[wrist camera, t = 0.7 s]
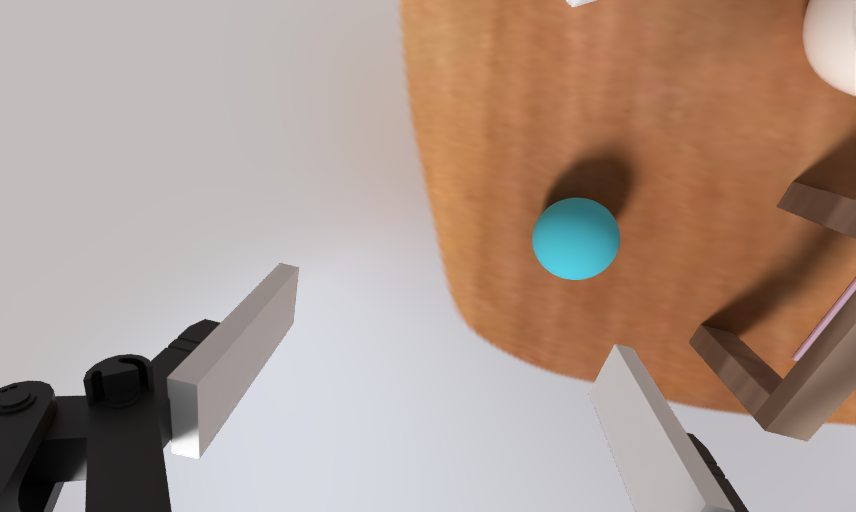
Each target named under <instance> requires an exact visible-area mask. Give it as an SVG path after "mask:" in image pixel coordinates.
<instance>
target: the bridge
mask: <svg viewBox="0 0 856 512" xmlns="http://www.w3.org/2000/svg"><path fill="white" fill-rule="evenodd" d="M777 207H778V208H781V209H783V210H786V211H788V212H791V213H793V214H796V215H798V216H800V217H803V218H805V219H808V220H810V221H813V222H815V223H818V224H820V225H823V226H825V227H828V228H830V229H833V230H835V231H838V232H840V233H843V234H845V235H847V236H850V237H852V238H855V239H856V199H853V198H850V197H847V196H843V195H840V194H837V193H834V192H830V191H826V190H823V189H819V188H815V187H811V186H808V185H804V184H800V183H797V182H793V183H792V184H791V186H790V187H789V189H788V190H787V192H786V193H785V195H784V197H783V198H782V200H781V201H780V203H779V204H778V206H777ZM689 343H690V344H691V346H692V347H693V348H694V349H695V350H696V351H697V353H698V354H699V355H700V356H701V357H702V358H703V359H704V361H705V362H706V363H707V364H708V365H709V366H710V368H711V369H712V370H713V371H714V372H715V373H716V375H717V376H718V377H719V378H720V379H721V380H722V382H723V383H724V384H725V385H726V386H727V387H728V388H729V390H730V391H731V392H732V393H733V394H734V395H735V397H736V398H737V399H738V400H739V401H740V402H741V404H742V405H743V406H744V407H745V408H746V409H747V411H748V412H749V413H750V414H751V415H752V416H753V417H754V419H755V420H756V421H757V422H758V423H759V424H760V425H761V427H762V428H763V429H764V430H765V431H768V432H772V433H776V434H780V435H784V436H788V437H793V438H796V439H800V440H804V441H808V440H809V439H810V438H811V437H812V436H813V435H814V433H815V432H816V431H817V430H818V429H819V428H820V427H821V426H822V425H823V424H824V423H825V422H826V421H827V420H828V418H829V417H830V416H831V415H832V414H833V413H834V412H835V411H836V410H837V409H838V408H839V407H840V405H841V404H842V403H843V402H844V401H845V400H846V399H847V398H848V397H849V396H850V395H851V393H852V392H853V391H854V390H855V389H856V290H855V291H854V293H853V294H852V295H851V296H850V297H849V299H848V300H847V301H846V302H845V304H844V305H843V306H842V307H841V309H840V310H839V311H838V312H837V314H836V315H835V316H834V317H833V318H832V320H831V321H830V322H829V323H828V325H827V326H826V327H825V328H824V330H823V331H822V332H821V333H820V335H819V336H818V337H817V338H816V339H815V341H814V342H813V343H812V344H811V346H810V347H809V348H808V349H807V351H806V352H805V353H804V354H803V356H802V357H801V358H800V359H799V360H798V362H797V363H796V364H795V365H794V367H793V368H792V369H791V370H790V372H789V373H788V374H787V375H786V377H785V378H784V379H782V378H781V377H780V376H779V375H778V374H777V373H776V372H775V371H774V370H773V369H771V368H770V367H769V366H768V365H767V364H766V363H765V362H764V361H763V360H762V359H761V358H760V357H759V356H758V355H756V354H755V353H754V352H753V351H752V350H751V349H750V348H749V347H748V346H747V345H746V344H745V343H744V342H743V341H741V340H740V339H739V338H738V337H737V336H736V335H735V334H734V333H731V332H728V331H724V330H720V329H716V328H712V327H708V326H704V325H700V327H699V328H698V330H697V331H696V333H695V334H694V336H693V337H692V339H691V341H690V342H689Z"/></svg>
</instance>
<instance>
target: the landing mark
mask: <svg viewBox="0 0 856 512" xmlns="http://www.w3.org/2000/svg"><path fill="white" fill-rule="evenodd" d="M855 290H856V278H855V279H854V281H853V282H852V283H851V284H850V286H849V287H848V288H847V289H846V291H845V292H844V293H843V294H842V296H841V297H840V298H839V299H838V301H837V302H836V303H835V304H834V306H833V307H832V308H831V309H830V311H829V312H828V313H827V314H826V316H825V317H824V318H823V319H822V321H821V322H820V323H819V324H818V326H817V327H816V328H815V329H814V331H813V332H812V333H811V335H810V336H809V337H808V338H807V340H806V341H805V342H804V343H803V345H802V346H801V347H800V348H799V350H798V351H797V352H796V353H795V355H794V356H793V357H792V358H791V359H793V360H795V361H798V360H799V359H800V358H801V357H802V356H803V354H804V353H805V352H806V351H807V349H808V348H809V347H810V346H811V344H812V343H813V342H814V341H815V339H816V338H817V337H818V336H819V335H820V333H821V332H822V331H823V330H824V328H825V327H826V326H827V325H828V323H829V322H830V321H831V320H832V318H833V317H834V316H835V315H836V314H837V312H838V311H839V310H840V309H841V307H842V306H843V305H844V304H845V302H846V301H847V300H848V299H849V297H850V296H851V295H852V294H853V293H854V291H855Z"/></svg>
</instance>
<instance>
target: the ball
mask: <svg viewBox="0 0 856 512" xmlns="http://www.w3.org/2000/svg"><path fill="white" fill-rule="evenodd" d="M532 242H533V248H534V252H535V254H536V257H537V258H538V260H539V262H540V263H541V264H542V265H543V267H545V268H546V269H547V270H548V271H549V272H551V273H552V274H554V275H556V276H559V277H561V278H565V279H572V280H581V279H586V278H590V277H593V276H595V275H597V274H599V273H600V272H602V271H603V270H605V269H606V268H607V267H608V266H609V265H610V264H611V262H612V261H613V260H614V258H615V256H616V254H617V251H618V249H619V244H620V232H619V228H618V225H617V222H616V220H615V218H614V217H613V215H612V214H611V213H610V212H609V211H608V210H607V209H606V208H605V207H604V206H602V205H601V204H599V203H597V202H595V201H593V200H590V199H586V198H568V199H564V200H561V201H558V202H556V203H554V204H552V205H551V206H550V207H548V208H547V209H546V210H545V211H544V212H543V213H542V214H541V215H540V217H539V218H538V220H537V222H536V224H535V227H534V230H533V236H532Z"/></svg>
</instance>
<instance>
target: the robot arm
mask: <svg viewBox="0 0 856 512" xmlns="http://www.w3.org/2000/svg"><path fill="white" fill-rule="evenodd" d="M298 272H299V267H294V266H291V265H286V264H283V263H280V264H279V265H278V266H277V267H276V268H275V269H274V270H273V271H272V272H271V273H270V274H269V275H268V276H267V277H266V278H265V279H264V280H263V281H262V282H261V283H260V284H259V285H258V286H257V287H256V288H255V289H254V290H253V291H252V292H251V293H250V294H249V295H248V296H247V297H246V298H245V299H244V300H243V301H242V302H241V303H240V304H239V305H238V306H237V307H236V308H235V309H234V310H233V311H232V312H231V313H230V314H229V315H228V316H227V317H226V318H225V319H224V320H223V321H222V322H221V323H219V322H215V321H211V320H206V319H204V320H202V321H200V322H198V323H196V324H194V325H191V326H189V327H188V328H187V329H186V330H185V331H184V332H183V333H181V335H179V336H178V338H177V339H175V340H174V341H173V342H172V343H170V344H169V346H168V348H165V349H164V350H163V351H162V352H161V353H160V354H159V355H157V356H156V357H155V358H154V359H153V360H152V361H151V362H150V360H149V359H147V358H145V357H143V356H140V355H133V354H127V355H118V356H114V357H111V358H107V359H105V360H103V361H101V362H99V363H97V364H95V365H94V366H93V367H92V368H91V369H89V370H88V371H87V372H86V375H85V377H84V380H83V381H84V387H85V392H86V396H55V394H54V390H53V389H52V387H51V386H50V384H47V383H44V382H41V381H24V382H18V383H13V384H10V385H7V386H4V387H2V388H0V512H52V511H53V509H54V507H55V504H56V502H57V499H58V497H59V494H60V492H61V489H62V487H63V484H64V482H69V481H80V480H86V508H85V512H171V504H170V498H169V490H168V483H167V476H166V468H165V461H164V454H163V448H164V447H165V446H166V445H167V443H168V442H169V441H170V440H171V445H172V453H174V454H179V455H183V456H187V457H192V458H196V459H200V458H201V456H202V455H203V453H204V452H205V450H206V449H207V447H208V446H209V445H210V443H211V442H212V440H213V439H214V437H215V436H216V434H217V433H218V432H219V430H220V429H221V427H222V426H223V424H224V423H225V421H226V420H227V419H228V417H229V416H230V414H231V413H232V411H233V410H234V408H235V407H236V406H237V404H238V403H239V401H240V400H241V398H242V397H243V395H244V394H245V393H246V391H247V389H248V388H249V387H250V385H251V384H252V382H253V381H254V379H255V378H256V376H257V375H258V374H259V372H260V371H261V369H262V368H263V366H264V365H265V364H266V362H267V361H268V359H269V358H270V356H271V355H272V353H273V352H274V351H275V349H276V348H277V346H278V345H279V343H280V342H281V340H282V339H283V338H284V336H285V335H286V333H287V331H288V330H289V329H290V327H291V326H292V324H293V321H294V311H295V301H296V291H297V282H298ZM589 397H590V399H591V402H592V404H593V407H594V409H595V412H596V415H597V417H598V419H599V422H600V424H601V427H602V430H603V432H604V435H605V437H606V440H607V442H608V445H609V447H610V450H611V453H612V455H613V458H614V460H615V463H616V465H617V468H618V470H619V473H620V475H621V478H622V480H623V483H624V485H625V488H626V490H627V493H628V495H629V498H630V501H631V503H632V506H633V508H634V511H635V512H749V511H748V510H747V508H746V507H745V505H744V504H743V502H742V501H741V499H740V498H739V496H738V495H737V493H736V492H735V490H734V489H733V487H732V485H731V484H730V483H729V481H728V479H725V475H724V474H723V472H722V470H721V469H720V467H719V466H717V463H716V461H715V460H714V458H713V457H712V455H711V454H710V452H709V450H708V449H707V448H706V447H705V446H704V445H703V444H702V443H701V442H700V441H699V440H698V439H697V438H696V437H695V436H694V435H693V434H689V433H686V432H685V430H684V429H683V427H682V425H681V424H680V422H679V421H678V419H677V417H676V416H675V414H674V413H673V411H672V410H671V408H670V406H669V405H668V403H667V402H666V400H665V398H664V397H663V395H662V394H661V392H660V390H659V389H658V387H657V386H656V384H655V382H654V381H653V379H652V378H651V376H650V374H649V373H648V371H647V370H646V368H645V366H644V365H643V363H642V362H641V360H640V358H639V357H638V355H637V354H636V352H635V351H634V349H633V348H630V347H626V346H621V345H617V344H615V345H614V347H613V349H612V351H611V352H610V354H609V356H608V358H607V360H606V362H605V364H604V365H603V367H602V369H601V371H600V373H599V375H598V377H597V379H596V380H595V382H594V384H593V386H592V388H591V390H590V392H589Z"/></svg>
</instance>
